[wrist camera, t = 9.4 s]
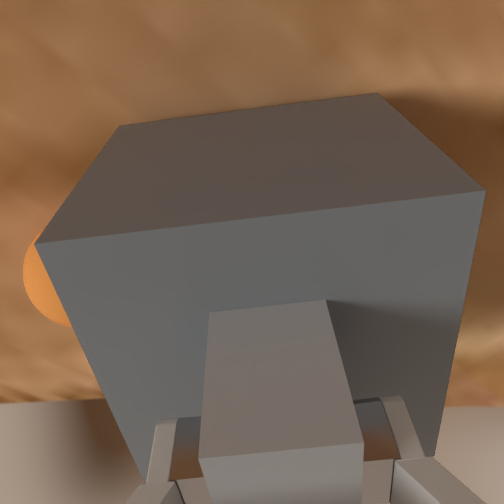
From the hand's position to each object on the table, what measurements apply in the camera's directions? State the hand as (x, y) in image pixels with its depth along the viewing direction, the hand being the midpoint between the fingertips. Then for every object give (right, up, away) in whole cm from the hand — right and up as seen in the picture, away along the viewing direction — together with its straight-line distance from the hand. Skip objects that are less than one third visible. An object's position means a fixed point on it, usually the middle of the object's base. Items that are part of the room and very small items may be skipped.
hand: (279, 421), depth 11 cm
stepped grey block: (0, +6, +9) cm, 11 cm away
